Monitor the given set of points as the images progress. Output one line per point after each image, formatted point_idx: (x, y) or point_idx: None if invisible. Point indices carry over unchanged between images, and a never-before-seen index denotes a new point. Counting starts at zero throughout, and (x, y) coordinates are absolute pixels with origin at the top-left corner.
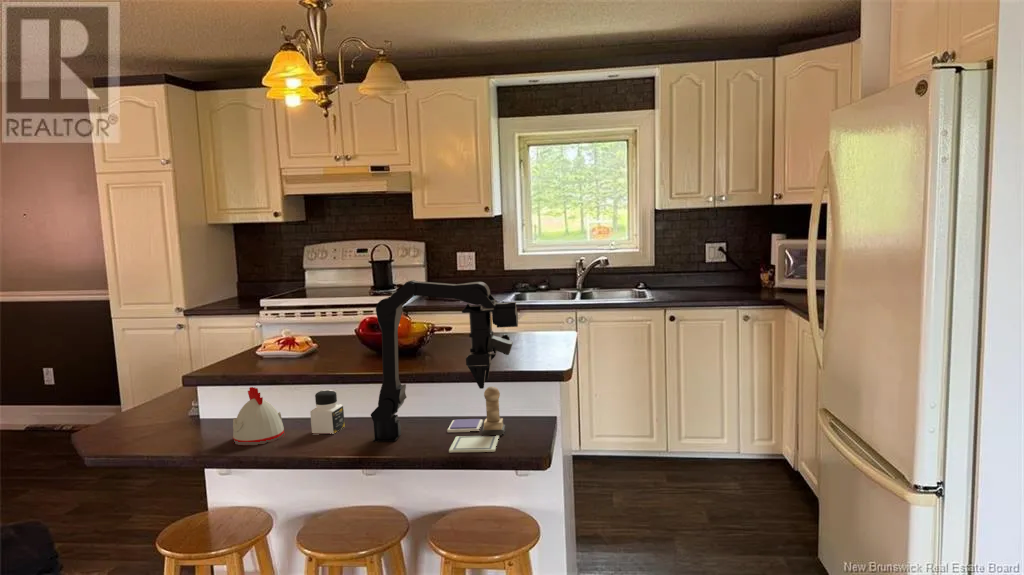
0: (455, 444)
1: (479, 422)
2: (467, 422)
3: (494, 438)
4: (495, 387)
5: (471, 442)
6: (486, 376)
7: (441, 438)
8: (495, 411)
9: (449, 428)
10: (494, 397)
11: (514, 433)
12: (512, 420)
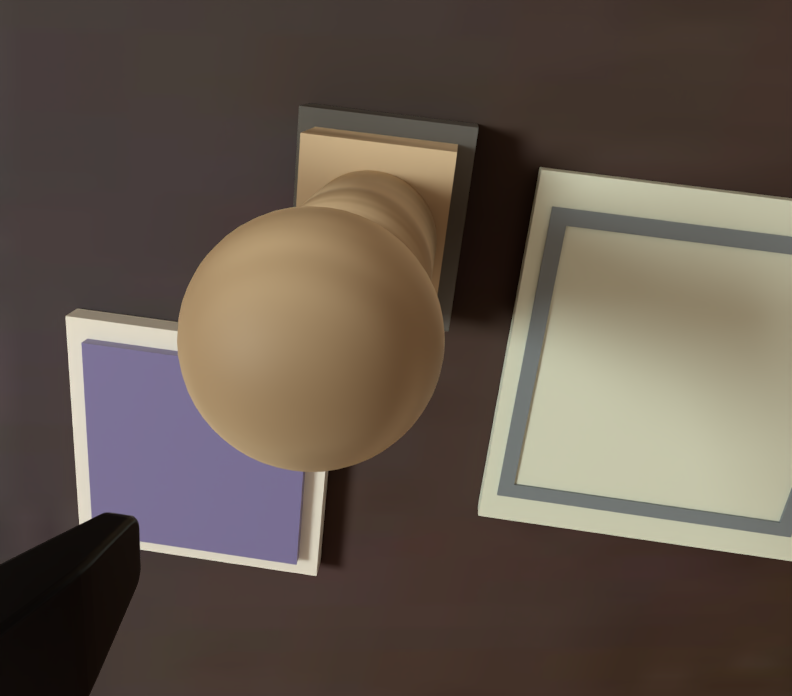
0: (683, 521)
1: (153, 344)
2: (178, 443)
3: (629, 216)
4: (271, 312)
5: (666, 407)
6: (96, 589)
7: (448, 596)
8: (424, 237)
9: (288, 562)
10: (436, 295)
11: (444, 10)
12: (28, 23)
